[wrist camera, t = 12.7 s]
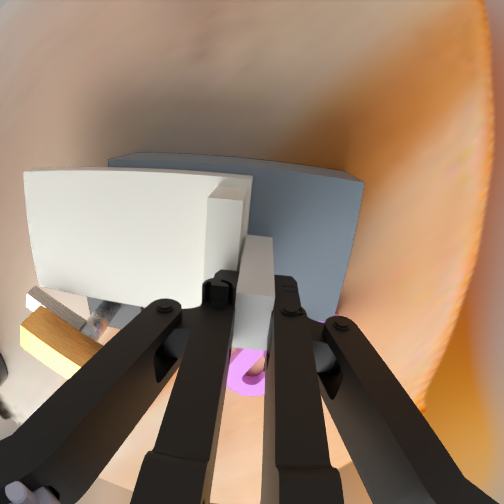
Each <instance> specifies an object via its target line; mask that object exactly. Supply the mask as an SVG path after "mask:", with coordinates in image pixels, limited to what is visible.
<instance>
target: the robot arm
mask: <svg viewBox="0 0 504 504" xmlns="http://www.w3.org/2000/svg"><path fill="white" fill-rule="evenodd" d="M231 347H234V348H243V349H252V350H262V351H266V349H267V352H266V358H265V364H264V369H263V372H265V396H264V431H263V461H262V487H261V503H260V504H344V499H343V491H342V483H341V478H340V473H339V471H338V470H337V468H334V467H332V466H331V463H330V457H329V450H328V442H327V435H326V428H325V421H324V414H323V407H322V401H321V396H322V398H323V400H324V402H325V404H326V407H327V409H328V411H329V413H330V415H331V417H332V419H333V421H334V423H335V425H336V427H337V430H338V432H339V434H340V436H341V438H342V440H343V442H344V444H345V446H346V448H347V450H348V453H349V455H350V457H351V459H352V461H353V463H354V465H355V467H356V469H357V471H358V473H359V475H360V478H361V480H362V482H363V484H364V486H365V488H366V490H367V492H368V494H369V497H370V499H371V501H372V503H373V504H499V503H497V502H496V501H495V500H493V499H492V498H491V497H489V496H488V495H486V494H485V493H484V492H483V491H482V490H480V489H479V488H478V487H476V486H475V485H474V484H472V483H471V482H470V481H469V480H467V479H466V478H465V477H464V476H463V474H462V473H461V471H460V470H459V468H458V467H457V465H456V464H455V462H454V461H453V459H452V458H451V456H450V455H449V453H448V452H447V450H446V449H445V447H444V446H443V444H442V443H441V441H440V440H439V438H438V437H437V435H436V434H435V432H434V431H433V430H432V428H431V427H430V425H429V424H428V422H427V421H426V419H425V418H424V416H423V415H422V414H421V412H420V411H419V409H418V408H417V407H416V405H415V404H414V402H413V401H412V399H411V398H410V397H409V395H408V394H407V392H406V391H405V390H404V388H403V387H402V386H401V384H400V383H399V381H398V380H397V379H396V377H395V376H394V374H393V373H392V372H391V370H390V369H389V368H388V366H387V365H386V364H385V362H384V361H383V360H382V358H381V357H380V355H379V354H378V353H377V351H376V350H375V349H374V347H373V346H372V345H371V343H370V342H369V341H368V339H367V338H366V337H365V335H364V334H363V333H362V331H361V330H360V329H359V328H358V326H357V325H356V324H355V323H354V322H353V321H352V320H350V319H348V318H346V317H343V316H331V317H329V318H327V319H326V321H325V323H322V322H318V321H315V320H312V319H310V318H309V317H307V313H306V311H305V309H304V308H302V307H301V302H300V296H299V291H298V285H297V281H296V280H295V279H294V278H293V277H292V276H284V275H275V274H274V259H273V237H265V236H256V235H246V240H245V246H244V251H243V257H242V262H241V267H240V271H231V270H223V269H221V270H219V271H218V272H216V273H215V275H214V278H211V279H208V280H205V281H204V282H203V283H202V303H201V305H200V306H198V307H195V308H187V309H182V306H181V304H180V303H179V302H178V301H176V300H173V299H168V298H165V299H164V298H163V299H158V300H155V301H153V302H151V303H150V304H149V305H148V306H147V307H146V308H145V309H143V310H142V311H141V312H140V313H139V314H138V315H137V316H136V317H135V318H134V319H132V320H131V321H130V322H129V323H128V324H127V325H126V326H125V327H124V328H123V329H122V330H120V331H119V332H118V333H117V334H116V335H115V336H114V337H113V338H112V339H111V340H110V341H109V342H107V343H106V344H105V345H104V346H103V347H102V348H101V349H100V350H99V351H98V352H97V353H96V354H95V355H94V356H92V357H91V358H90V359H89V360H88V361H87V362H86V363H85V364H84V365H83V366H82V367H81V368H80V369H79V370H78V371H77V372H76V373H74V374H73V375H72V376H71V377H70V378H69V379H68V380H67V381H66V382H65V383H64V384H63V385H62V386H61V387H60V388H59V389H58V390H57V391H56V392H55V393H54V394H53V395H52V396H51V397H50V398H49V399H48V400H47V401H45V402H44V403H43V404H42V405H41V406H40V407H39V408H38V409H37V410H36V411H35V412H34V413H33V414H32V415H31V416H30V417H29V418H28V419H27V420H26V421H25V422H24V423H23V424H22V425H21V426H20V427H19V428H18V429H17V430H16V432H14V433H13V435H11V436H9V437H7V438H5V439H3V440H1V441H0V504H75V503H76V502H77V501H78V500H79V499H80V498H81V497H82V496H83V495H84V494H85V493H86V491H87V490H88V489H89V488H90V486H91V485H92V484H93V482H94V481H95V480H96V478H97V477H98V476H99V474H100V473H101V472H102V470H103V469H104V468H105V466H106V465H107V464H108V462H109V461H110V460H111V458H112V457H113V456H114V454H115V453H116V452H117V450H118V449H119V448H120V446H121V445H122V444H123V442H124V441H125V440H126V438H127V437H128V436H129V434H130V433H131V431H132V430H133V429H134V427H135V426H136V425H137V423H138V422H139V421H140V419H141V418H142V417H143V415H144V414H145V413H146V411H147V410H148V408H149V407H150V406H151V404H152V403H153V402H154V400H155V399H156V398H157V396H158V395H159V393H160V392H161V391H162V389H163V388H164V387H165V385H166V384H167V383H168V381H169V380H170V378H171V377H172V376H173V374H174V373H175V372H176V370H177V369H178V368H179V370H178V373H177V377H176V380H175V383H174V386H173V389H172V392H171V395H170V398H169V401H168V404H167V408H166V411H165V414H164V417H163V420H162V424H161V427H160V430H159V433H158V437H157V440H156V443H155V446H154V448H153V450H152V451H148V452H147V454H146V455H145V457H144V460H143V462H142V466H141V469H140V472H139V475H138V479H137V482H136V485H135V488H134V492H133V495H132V499H131V502H130V504H210V494H211V487H212V480H213V473H214V466H215V459H216V452H217V445H218V438H219V431H220V425H221V418H222V411H223V404H224V398H225V391H226V384H227V377H228V371H229V364H230V357H231ZM179 366H180V367H179ZM6 379H7V369H6V366H5V364H4V361H3V359H2V357H1V355H0V386H1V385H2V384H3V383H4V381H5V380H6Z"/></svg>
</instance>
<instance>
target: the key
mask: <svg viewBox="0 0 504 504" xmlns="http://www.w3.org/2000/svg"><path fill="white" fill-rule="evenodd" d="M26 307H27V308H29V309H30V310H31V311H33V313H32V314H31V315H30V316H29V317H28V318H27V319H26V320H25V321H24V322H23V323H22V324H21V325H20V346H21V347H23V348H24V349H25V350H27V351H28V352H29V353H31V354H32V355H33V356H35V357H36V358H37V359H39V360H40V361H42V362H43V363H44V364H46V365H47V366H49V367H50V368H52V369H53V370H54V371H56V372H57V373H59V374H60V375H62V376H64V377H65V378H67V379H69V378H70V377H71V376H72V375H73V374H74V373H76V372H77V371H78V370H79V369H80V368H81V367H82V366H83V365H84V364H85V363H86V362H87V361H88V360H89V359H90V358H91V357H92V356H94V355H95V354H96V353H97V352H98V351H99V350H100V349H101V348H102V347H103V345H101V344H99V343H98V342H97V341H98V340H99V338H100V337H101V335H102V334H103V332H104V331H105V330H106V328H107V327H108V325H109V324H110V322H111V321H112V320H113V318H114V317H115V315H116V314H117V313H118V311H119V310H120V303H118V302H113V301H107V300H103V301H102V302H101V304H100V305H99V306H98V307H97V308H96V310H95V311H94V312H93V313H92V315H91V316H90V317H89V318H88V320H85V319H84V318H82V317H81V316H79V315H77V314H76V313H74V312H73V311H71V310H70V309H68V308H67V307H65V306H64V305H62V304H61V303H59V302H58V301H57V300H55V299H54V298H52V297H51V296H49V295H48V294H47V293H45V292H44V291H42V290H41V289H40V288H38V287H37V286H35V287H33V288H32V289H31V290H30V291H29V292H28V293H27V296H26Z"/></svg>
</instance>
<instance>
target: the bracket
mask: <svg viewBox="0 0 504 504" xmlns="http://www.w3.org/2000/svg"><path fill="white" fill-rule="evenodd" d="M335 316H338V315H337V314H336V313H335ZM318 322H322V323H325V322H324V321H318ZM266 352H267V349H266V351H262V350H252V349H243V348H238V349H237V350H236V351H235V352H234V353H233V354H232V356H231V357H230V364H229V371H228V377H227V384H226V385H227V386H228V387H229V388H230V389H231V390H232V391H234V392H236V393H238V394H241V395H245V396H261V395H264V394H265V372H263V371H262V372H261V373H260V374H259V375H257V376H247V375H246V374H245V373H246V372H247V371H248V370H249V369H250V368H251V367H252V366H253V365H254V364H255V362H256V361H257V360H258V359H259V358H260V357H261V356H262V355H263V354H264V358H266Z"/></svg>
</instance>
